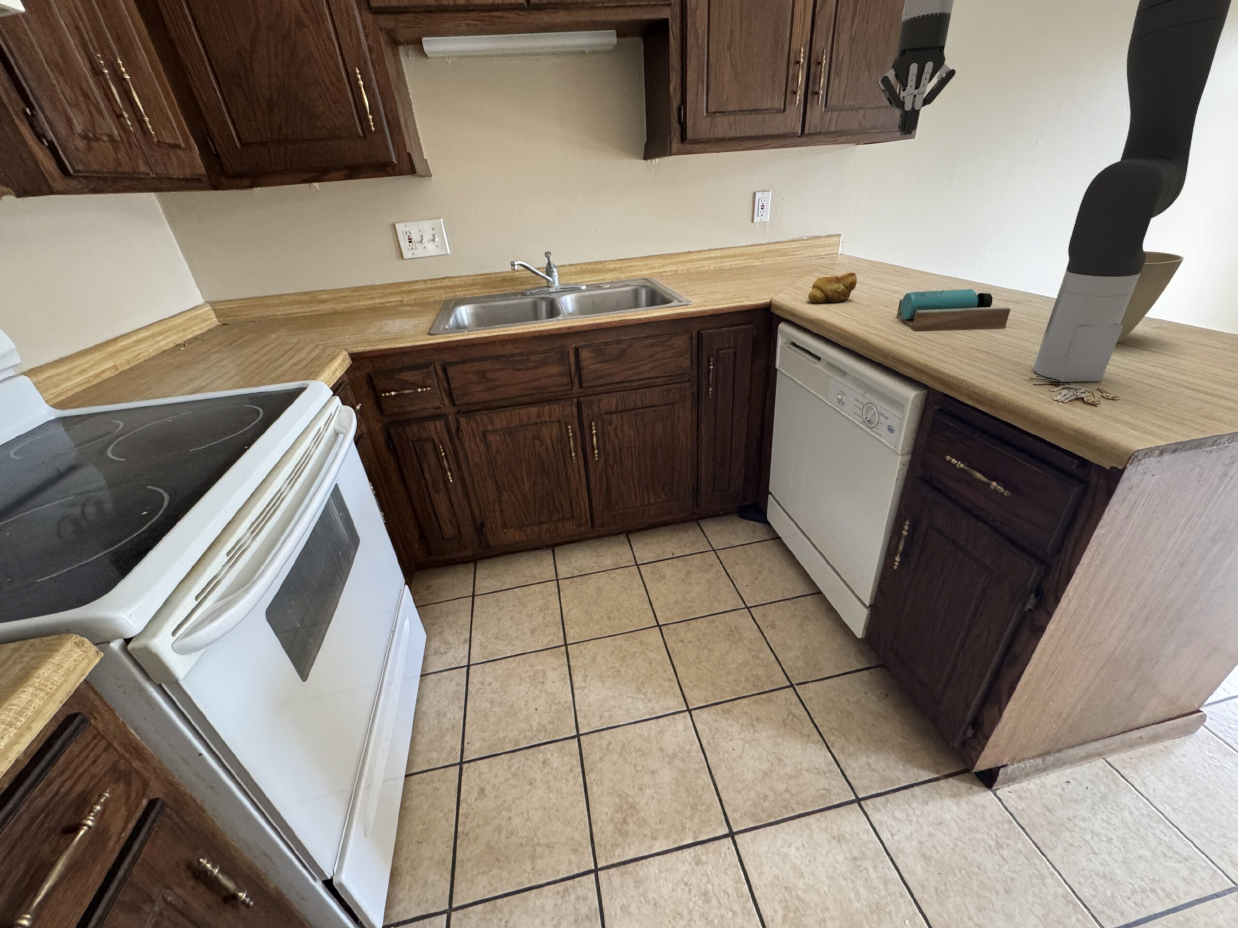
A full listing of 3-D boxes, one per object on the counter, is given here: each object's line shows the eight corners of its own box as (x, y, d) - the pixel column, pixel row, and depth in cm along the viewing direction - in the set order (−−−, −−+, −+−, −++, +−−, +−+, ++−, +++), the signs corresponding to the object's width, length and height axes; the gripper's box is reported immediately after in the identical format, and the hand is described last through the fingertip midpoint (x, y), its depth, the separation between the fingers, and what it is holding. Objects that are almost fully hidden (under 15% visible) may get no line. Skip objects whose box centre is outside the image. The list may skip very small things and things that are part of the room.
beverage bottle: (904, 321, 122) (994, 317, 120) (907, 291, 120) (999, 287, 118) (892, 320, 128) (978, 316, 126) (895, 291, 126) (983, 287, 124)
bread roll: (814, 306, 146) (817, 277, 142) (799, 299, 155) (802, 271, 151) (857, 302, 147) (862, 272, 143) (840, 295, 156) (844, 267, 152)
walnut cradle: (1005, 328, 117) (1010, 308, 115) (914, 330, 120) (918, 312, 118) (978, 314, 128) (983, 296, 126) (896, 316, 131) (899, 299, 129)
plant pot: (1063, 325, 116) (1090, 248, 108) (1153, 336, 106) (1190, 252, 98) (1042, 340, 108) (1070, 259, 100) (1138, 354, 98) (1176, 265, 90)
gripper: (892, 15, 87) (874, 137, 96) (978, 5, 85) (952, 130, 94) (878, 26, 94) (863, 139, 102) (958, 17, 92) (936, 133, 100)
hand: (906, 134), depth 98 cm, fingers closed
